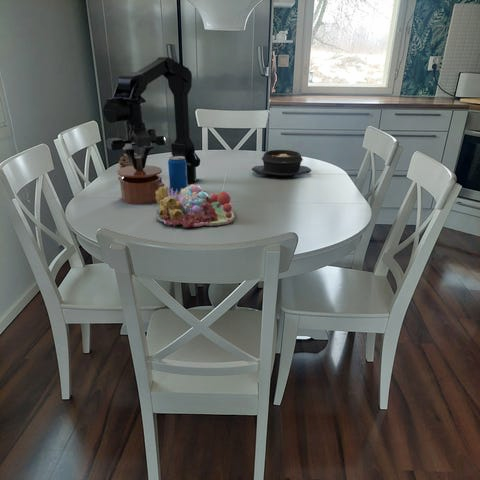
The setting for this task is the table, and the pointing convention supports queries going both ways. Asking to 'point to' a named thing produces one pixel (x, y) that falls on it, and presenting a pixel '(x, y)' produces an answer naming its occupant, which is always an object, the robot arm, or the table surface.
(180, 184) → the beverage can
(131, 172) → the pot lid
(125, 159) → the pine cone
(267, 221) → the table surface
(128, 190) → the pot
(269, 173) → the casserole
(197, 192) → the candy landscape model
